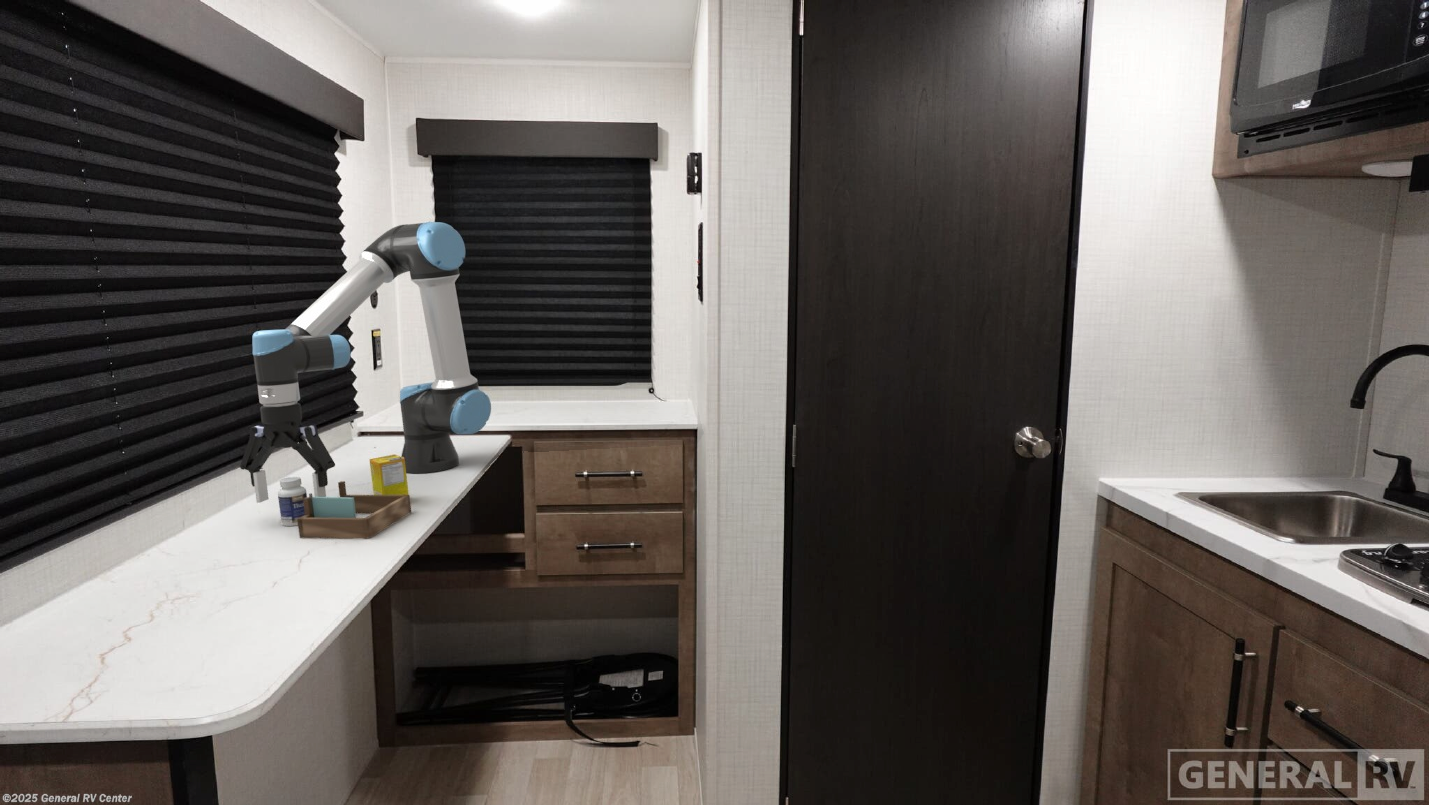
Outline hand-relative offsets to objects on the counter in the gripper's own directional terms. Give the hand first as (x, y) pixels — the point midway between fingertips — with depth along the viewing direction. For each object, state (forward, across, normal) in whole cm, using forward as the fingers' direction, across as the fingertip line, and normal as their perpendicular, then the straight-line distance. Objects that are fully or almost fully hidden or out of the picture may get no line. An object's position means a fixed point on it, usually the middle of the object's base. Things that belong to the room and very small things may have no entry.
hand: (291, 501), depth 167 cm
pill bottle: (+5, 0, 0) cm, 5 cm away
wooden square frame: (+5, +15, -1) cm, 16 cm away
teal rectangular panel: (+5, +13, -5) cm, 15 cm away
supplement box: (+5, +15, +14) cm, 21 cm away
